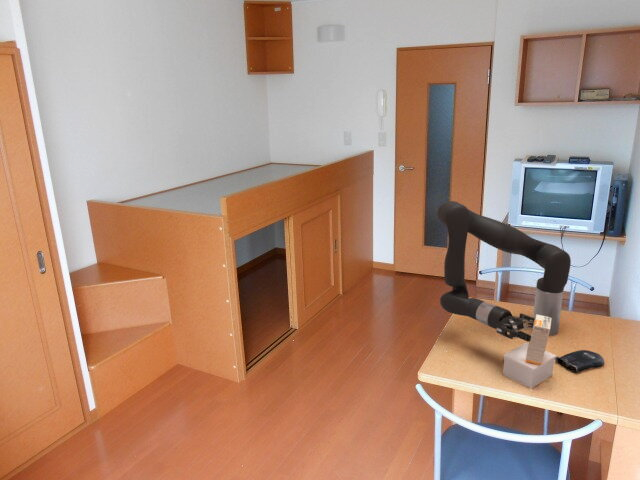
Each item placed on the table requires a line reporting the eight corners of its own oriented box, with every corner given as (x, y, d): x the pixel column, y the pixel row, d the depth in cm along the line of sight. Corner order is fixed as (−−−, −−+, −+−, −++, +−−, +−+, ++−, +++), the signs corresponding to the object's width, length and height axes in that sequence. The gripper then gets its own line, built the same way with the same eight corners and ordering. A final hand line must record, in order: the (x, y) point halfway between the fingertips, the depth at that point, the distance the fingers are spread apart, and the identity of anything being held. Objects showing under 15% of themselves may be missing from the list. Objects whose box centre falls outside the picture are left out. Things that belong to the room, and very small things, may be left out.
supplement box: (541, 366, 152) (551, 329, 147) (525, 361, 154) (533, 325, 149) (543, 352, 159) (552, 317, 154) (527, 348, 161) (535, 313, 156)
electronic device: (578, 381, 159) (611, 364, 164) (576, 365, 158) (609, 349, 163) (554, 370, 168) (586, 354, 173) (553, 355, 167) (585, 340, 172)
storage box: (523, 361, 168) (526, 342, 166) (553, 375, 160) (556, 355, 158) (501, 374, 161) (503, 354, 159) (531, 389, 153) (534, 369, 151)
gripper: (481, 311, 162) (526, 330, 149) (507, 300, 170) (552, 317, 157) (479, 332, 164) (523, 352, 151) (504, 320, 172) (549, 338, 159)
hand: (538, 334), depth 154 cm, fingers open, 8 cm apart
